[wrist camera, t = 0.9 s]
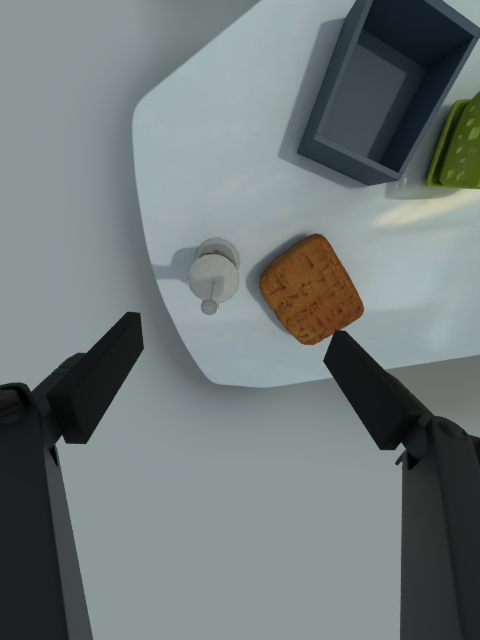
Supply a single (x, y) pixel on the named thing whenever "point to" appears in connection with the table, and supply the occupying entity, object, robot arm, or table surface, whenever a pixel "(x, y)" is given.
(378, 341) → the table surface
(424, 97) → the tub
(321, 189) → the table surface
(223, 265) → the french press
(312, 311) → the inscribed clay slab
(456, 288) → the table surface
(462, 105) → the flower pot
